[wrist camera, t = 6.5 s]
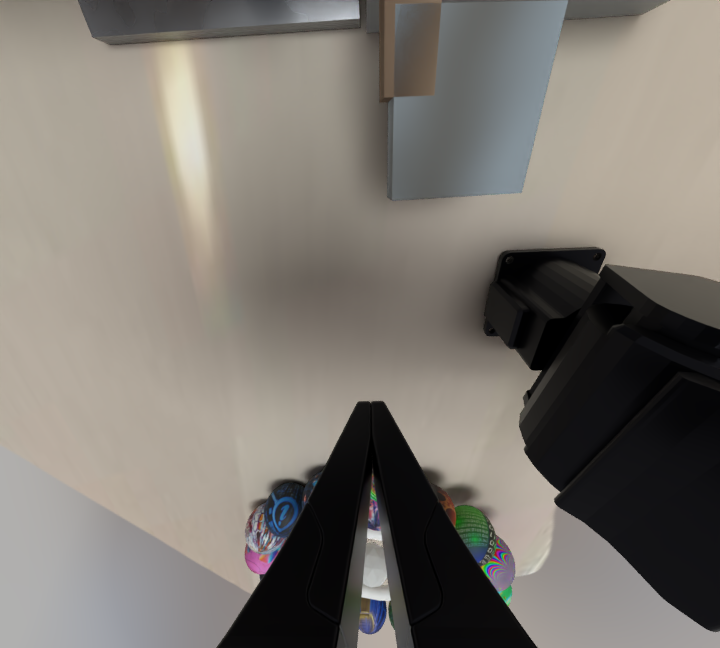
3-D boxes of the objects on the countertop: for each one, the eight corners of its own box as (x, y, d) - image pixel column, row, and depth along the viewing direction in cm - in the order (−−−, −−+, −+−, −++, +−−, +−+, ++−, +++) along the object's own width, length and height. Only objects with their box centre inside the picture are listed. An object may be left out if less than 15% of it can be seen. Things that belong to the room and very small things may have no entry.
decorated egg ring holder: (249, 415, 35) (206, 483, 27) (535, 451, 32) (580, 540, 24) (276, 551, 51) (255, 617, 43) (466, 583, 48) (480, 661, 40)
